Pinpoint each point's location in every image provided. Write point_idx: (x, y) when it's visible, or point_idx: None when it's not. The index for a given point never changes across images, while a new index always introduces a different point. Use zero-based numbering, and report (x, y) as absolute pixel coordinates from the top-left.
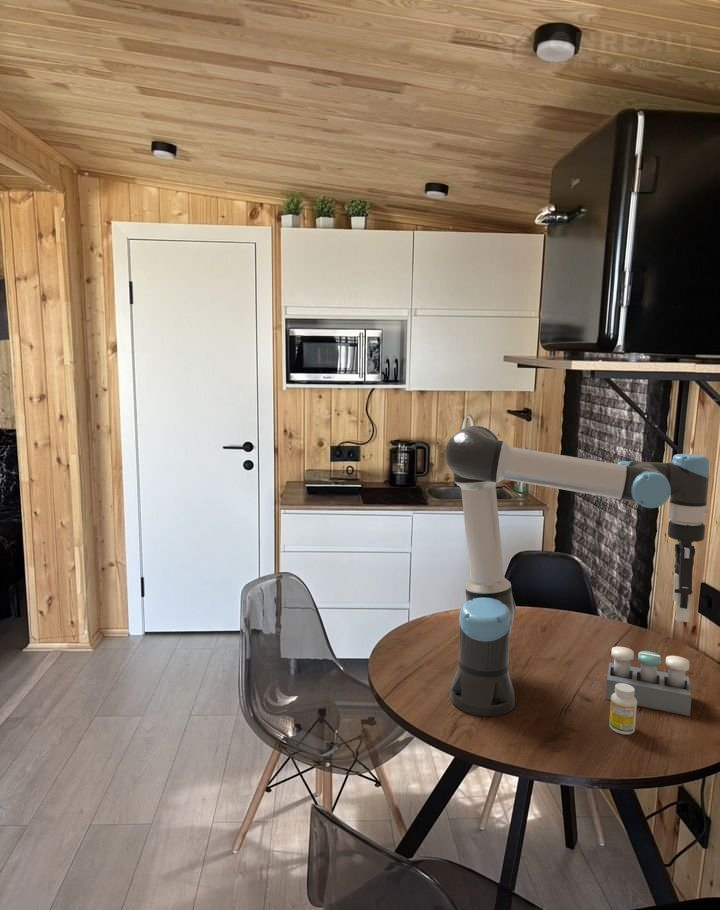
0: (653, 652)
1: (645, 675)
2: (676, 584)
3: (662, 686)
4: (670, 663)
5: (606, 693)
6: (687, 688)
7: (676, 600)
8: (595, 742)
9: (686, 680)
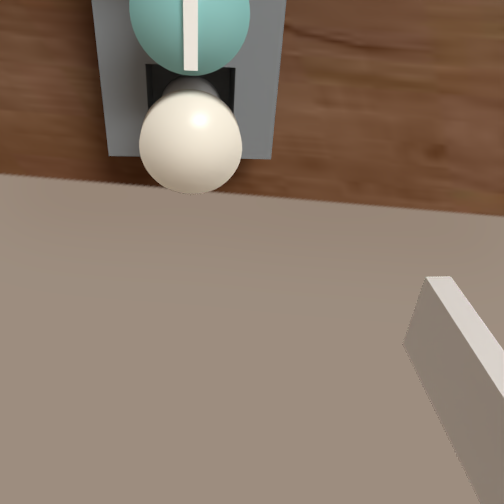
0: (243, 38)
1: None
2: (497, 414)
3: (132, 54)
4: (148, 114)
5: None
6: None
7: (421, 301)
8: None
9: None
